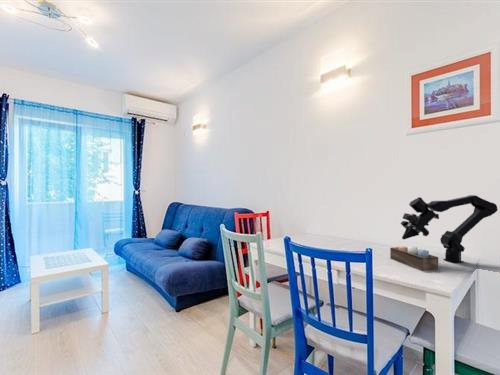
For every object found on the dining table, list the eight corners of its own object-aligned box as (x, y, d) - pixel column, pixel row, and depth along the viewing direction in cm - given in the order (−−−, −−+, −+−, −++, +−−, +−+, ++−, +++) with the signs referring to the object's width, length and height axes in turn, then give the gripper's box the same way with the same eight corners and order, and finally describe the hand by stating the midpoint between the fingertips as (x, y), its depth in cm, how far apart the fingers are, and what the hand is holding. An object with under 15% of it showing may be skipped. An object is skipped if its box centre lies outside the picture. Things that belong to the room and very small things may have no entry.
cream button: (413, 255, 139) (413, 246, 139) (419, 257, 135) (419, 248, 135) (405, 255, 139) (405, 246, 139) (412, 258, 134) (411, 248, 134)
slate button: (423, 259, 132) (423, 249, 132) (431, 261, 128) (431, 251, 128) (415, 259, 132) (415, 249, 132) (423, 261, 127) (422, 251, 127)
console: (404, 257, 148) (404, 247, 148) (438, 269, 127) (438, 257, 127) (390, 258, 147) (390, 247, 147) (421, 270, 125) (421, 258, 125)
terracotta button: (403, 254, 146) (403, 246, 146) (409, 256, 142) (409, 247, 142) (396, 255, 146) (396, 246, 146) (402, 257, 141) (402, 248, 141)
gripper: (404, 207, 153) (384, 225, 153) (422, 209, 134) (400, 231, 135) (418, 220, 152) (398, 239, 153) (439, 225, 133) (416, 246, 134)
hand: (402, 238), depth 144 cm, fingers closed
